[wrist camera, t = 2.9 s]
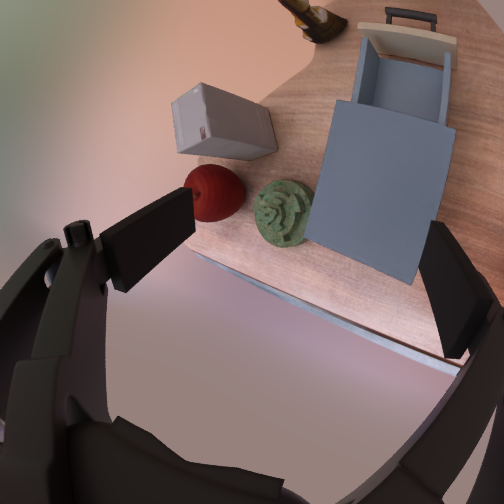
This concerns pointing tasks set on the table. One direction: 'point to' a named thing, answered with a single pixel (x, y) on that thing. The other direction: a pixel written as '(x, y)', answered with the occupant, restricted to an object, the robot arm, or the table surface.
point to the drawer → (406, 67)
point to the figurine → (314, 20)
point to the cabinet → (380, 187)
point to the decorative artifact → (283, 212)
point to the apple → (215, 192)
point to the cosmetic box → (221, 125)
